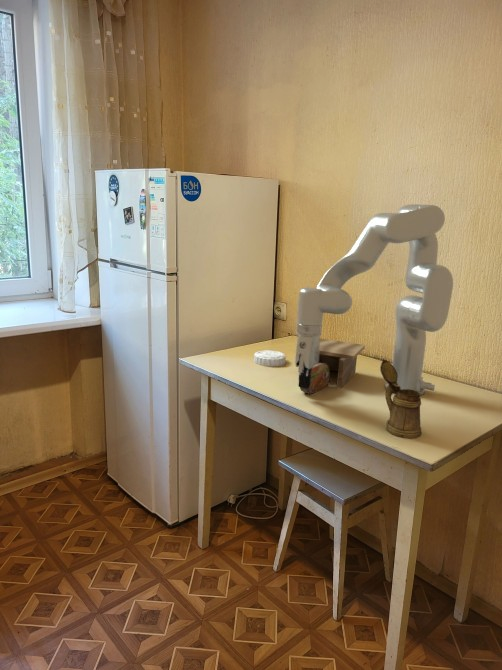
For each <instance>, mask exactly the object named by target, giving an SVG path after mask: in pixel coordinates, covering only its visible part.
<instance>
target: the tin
mask: <svg viewBox="0 0 502 670" xmlns="http://www.w3.org/2000/svg"><path fill="white" fill-rule="evenodd" d="M309 375H310V374H309ZM330 375H331V370H330V369H329V366H328V365H327V364H326V363H317V364H316V365H315V366H314V367H312V371H311V380H310V387H309V388H308V389H307V388H302V387H299V389H300V391H301V392H302V393H305V394H309V395H312V394H313V393H316V392H318V391H320V390H323V389H324V388H326V387H327V386H328V384H329V381H330Z"/></svg>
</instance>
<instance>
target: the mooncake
mask: <svg viewBox="0 0 502 670" xmlns="http://www.w3.org/2000/svg"><path fill="white" fill-rule="evenodd" d="M253 357H254V358H253V362H254V363H255V364H256V365H259V366H264V367H273V368H274V367H280V366H284V365H285V364H286V361H287V360H286V358H287V356H286V354H284V353H283V352H281V351H278V350H269V349H265V350H264V349H263V350H260V351H259V350H258V351H256V352H255V353H254V354H253Z"/></svg>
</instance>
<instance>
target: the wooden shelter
mask: <svg viewBox="0 0 502 670" xmlns="http://www.w3.org/2000/svg"><path fill="white" fill-rule="evenodd" d="M365 349H366V345H365V344H359V343H355V342H354V343H351V342H346V341H339V340H333V339H326V338H320V351H319V362H318V363H326V364H327V365H328V366H329V369H330V371H331V370H332V371H337V381H336V389H337V388H339V389H342V388H343V387H344V386H345V384H347V383H348V381H349V380H350V379H352V377H353V376H354V375H355V374H356V370H357V359H358V356H359V355H360V354H361V353H362V351H364V350H365Z"/></svg>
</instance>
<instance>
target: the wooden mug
mask: <svg viewBox="0 0 502 670" xmlns="http://www.w3.org/2000/svg"><path fill="white" fill-rule="evenodd" d="M379 367H380V370H379V371H380V373H381V374H380V375H381V376H382V377H383V379H384V381H385V383H388V384H389V385H388V386H387V388H385V393H384V397H385V401H386V404H387V407H388V410H389V419H388V420H387V421H386V431H387V432H389V434H391V435H393V436H395V437H399V438H405V439H414V438H415V439H416V438H419V437H420V436H422V426H421V405H422V399H421V395H420V393H419V392H417V391H415V390H410V389H402V390H401V388H400V386H398V384H397V377H398V375H397V372H396V370H395V368H394V366H393V363H391V362H390V361H387V360H386V359H383V360H382V361H381V364H380V366H379ZM393 395H394V396H393ZM392 396H393V397H392Z"/></svg>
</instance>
